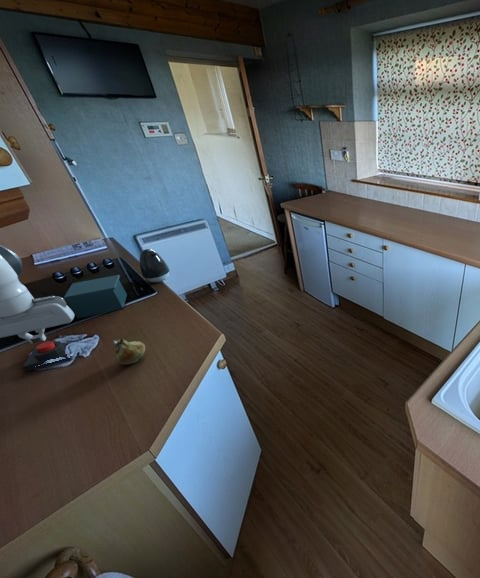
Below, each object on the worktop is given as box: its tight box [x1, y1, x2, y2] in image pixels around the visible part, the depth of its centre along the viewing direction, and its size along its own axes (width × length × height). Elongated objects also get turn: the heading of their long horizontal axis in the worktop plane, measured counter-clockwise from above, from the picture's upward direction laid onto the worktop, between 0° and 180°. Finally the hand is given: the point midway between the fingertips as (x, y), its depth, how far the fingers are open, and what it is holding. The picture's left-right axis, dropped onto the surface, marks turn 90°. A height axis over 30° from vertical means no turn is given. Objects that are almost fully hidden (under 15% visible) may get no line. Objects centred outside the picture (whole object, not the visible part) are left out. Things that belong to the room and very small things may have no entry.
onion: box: [112, 338, 146, 366], centre depth 90 cm, size 8×8×8 cm
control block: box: [22, 339, 75, 372], centre depth 92 cm, size 10×8×4 cm
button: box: [35, 340, 56, 353], centre depth 90 cm, size 4×4×2 cm
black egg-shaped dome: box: [139, 248, 170, 283], centre depth 132 cm, size 10×10×15 cm
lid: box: [63, 274, 121, 300], centre depth 112 cm, size 14×12×1 cm
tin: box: [64, 279, 128, 320], centre depth 115 cm, size 14×12×9 cm
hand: (39, 341), depth 89 cm, fingers closed
